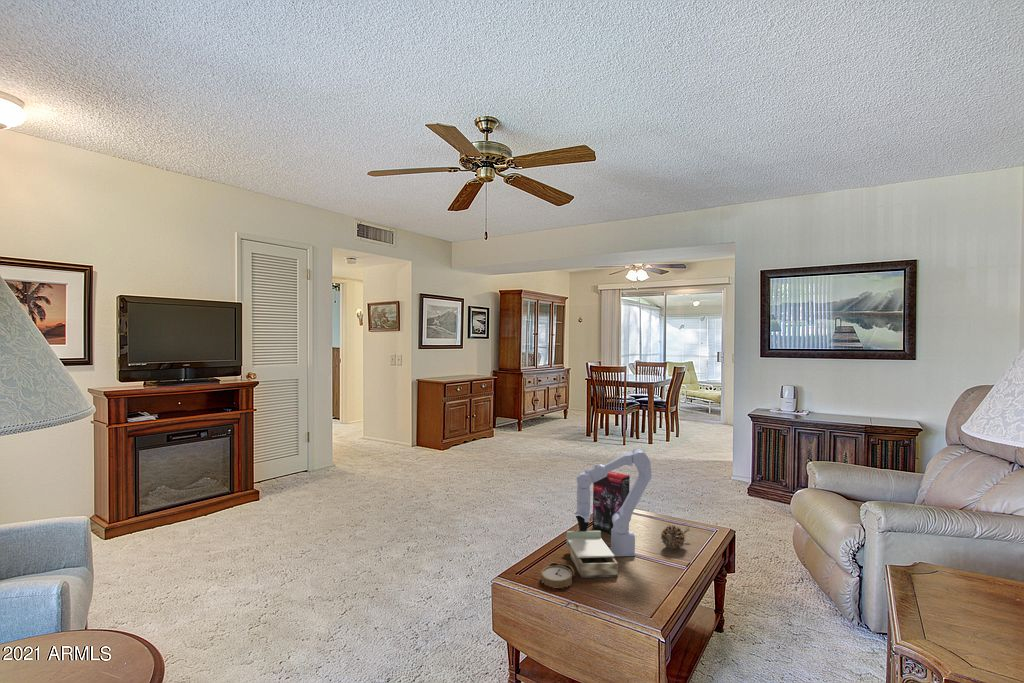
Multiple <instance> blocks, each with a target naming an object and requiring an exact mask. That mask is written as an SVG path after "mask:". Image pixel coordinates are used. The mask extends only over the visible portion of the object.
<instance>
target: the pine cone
mask: <svg viewBox="0 0 1024 683" xmlns="http://www.w3.org/2000/svg"><path fill="white" fill-rule="evenodd" d="M668 525H669V526H668ZM668 525H666V527H664V528H663V529H662V531H660V535H661V536H660V540H661V543H663V545H665V547H666V548H668V549H672V550H673V549H679V548H681V546H683V545H684V543H685V541H686V539H685V538H686V535H685V534H687V533H688V532H691V529H690V527H689V526H686V527H685V528H684V530H682V529H681V528H680V527H676V525H670V524H668Z"/></svg>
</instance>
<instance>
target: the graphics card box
mask: <svg viewBox="0 0 1024 683" xmlns="http://www.w3.org/2000/svg"><path fill="white" fill-rule="evenodd" d="M630 477H631V475H630V474H629V475H628V474H623V473H619V472H615V471H613V470H612V471H610V472H608V474H607V477H605V478H603V479H601V480H599V481H597V482H595V483H592V485H593V486H592V487H593V489H592V526H591V527H592V528H594V529H597V530H598V531H601V532H602V531H603V532H606V533H609V534H611V529H612V528H613V522H612V516H613V515H614V514H615V513H616V512H617V511H618V510H619V508H620V507H621V506H622V505H623V503H624V501H625V499H626V497H627V495H628V494H629V492H630V485H631V484H630V482H631V481H630ZM628 530H629V531H630V528H629V529H628Z"/></svg>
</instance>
